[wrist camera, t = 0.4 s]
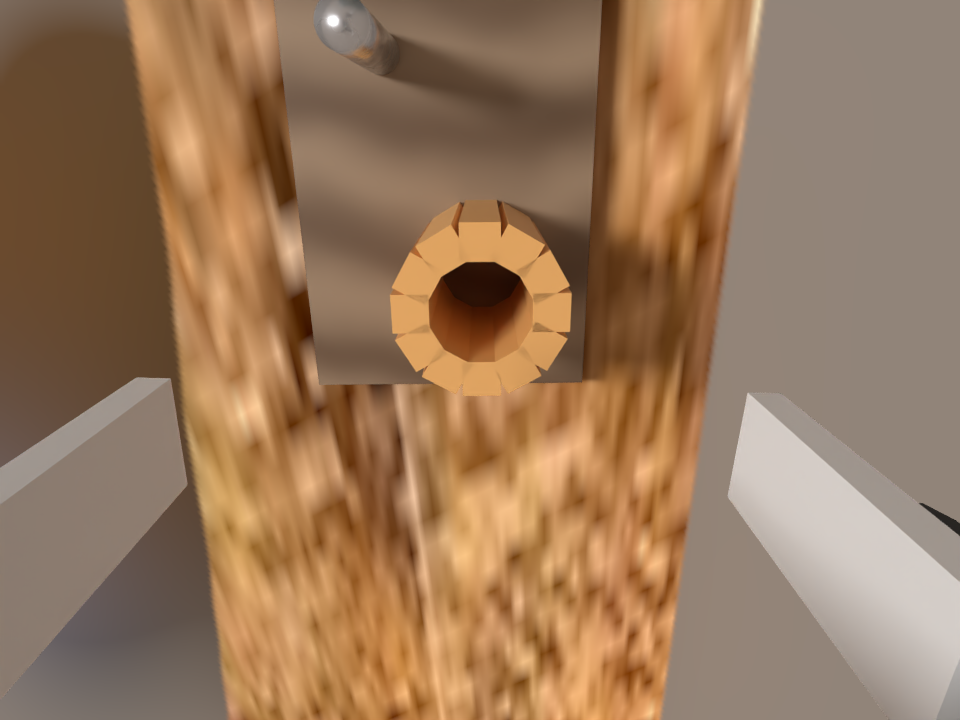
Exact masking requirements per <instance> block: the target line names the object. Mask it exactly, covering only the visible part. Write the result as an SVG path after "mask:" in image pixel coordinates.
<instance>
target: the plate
mask: <svg viewBox="0 0 960 720" xmlns="http://www.w3.org/2000/svg"><path fill="white" fill-rule="evenodd" d="M360 1H361V3H362V4H363V5H364V6H365V7H366V8H367V9H368V10H369V11H370V12H371V14H372V15H373V16H374V17H375V18H376V19H377V20H378V21H379V22H380V23H381V25H382V26H383V27H384V28H385V29H386V30H387V31H388V32H389V33H390V34H391V36H392V37H393V38H394V39H395V40H396V42H397V44H398V47H399V61H398V64H397V66H396V67H395V69H394V70H393V71H391V72H390V73H388V74H385V75H376V74H373V73H371V72H370V71H368V70H366V69H364V68H363V67H361V66H359V65H357V64H356V63H354V62H352V61H350V60H349V59H347V58H345V57H343V56H342V55H340V54H338V53H337V52H335V51H333V50H331V49H330V48H328V47H327V46H326V45H324V44H323V42H322V41H321V40H320V39H319V37H318V35H317V33H316V30H315V27H314V11H315V8H316V5H317V3H318V2H319V0H274V6H275V15H276V23H277V32H278V40H279V49H280V57H281V66H282V74H283V83H284V91H285V99H286V108H287V116H288V125H289V133H290V142H291V150H292V159H293V167H294V176H295V184H296V193H297V201H298V209H299V218H300V226H301V235H302V243H303V252H304V260H305V269H306V277H307V286H308V294H309V302H310V311H311V319H312V328H313V336H314V345H315V353H316V362H317V370H318V379H319V385H333V384H435V383H433V382H431V381H429V380H427V379H425V378H423V377H422V375H423V371H424V368H423V369H421V370H419V371H417V372H416V371H415V369H414V368H413V366H412V365H411V363H410V362H409V360H408V359H407V357H406V356H405V354H404V353H403V352H402V350H401V349H400V347H399V346H398V344H397V343H396V341H395V339H396V337H397V335H398V334H393V332H392V318H391V303H390V294H391V292H392V291H393V288H392V286H393V284H394V282H395V280H396V278H397V276H398V274H399V272H400V270H401V268H402V266H403V264H404V262H405V261H406V259H407V257H408V255H409V253H410V251H411V250H412V248H413V247H414V245H415V243H416V242H417V240H418V239H419V237H420V236H421V234H422V233H423V231H424V230H425V228H426V227H427V225H428V224H429V223H430V222H431V221H432V219H433V218H434V217H436V216H437V215H439V214H441V213H442V212H444V211H446V210H447V209H449V208H450V207H452V206H454V205H455V204H457V203H459V202H460V203H461V205H462V207H463V206H464V203H465V200H497V204H498V208H499V207H500V205H501V203H502V201H503V202H504V203H506V204H508V205H510V206H511V207H513V208H515V209H516V210H518V211H520V212H522V213H523V214H525V215H527V216H528V217H530V219H531V221H532V222H533V221H534V223H535V225H536V227H537V228H538V230H539V232H540V233H541V235H542V237H543V238H544V240H545V242H546V244H547V245H548V247H549V249H550V250H551V252H552V254H553V256H554V258H555V259H556V261H557V263H558V265H559V267H560V269H561V270H562V272H563V274H564V276H565V278H566V279H567V281H568V283H569V285H570V286H569V289H570V291H571V293H572V297H571V320H570V332H565V333H566V336H567V338H568V339H567V341H566V342H565V344H564V345H563V347H562V348H561V350H560V352H559V353H558V355H557V356H556V358H555V359H554V361H553V362H552V364H551V365H550V367H549V369H548V370H547V371H546V370H544V369H543V368H541V367H540V371H541V375H542V376H540V377H538V378H536V379H535V380H533V381H531V382H529V383H559V382H582V373H583V354H584V335H585V316H586V297H587V278H588V259H589V240H590V221H591V202H592V183H593V164H594V145H595V126H596V107H597V88H598V69H599V50H600V31H601V12H602V0H360ZM520 279H521V278H520V276H519V275H517V274H516V273H514V272H512V271H510V270H508V269H507V268H505V267H503V266H501V265H499V264H498V263H496V262H465V263H464V264H462V265H460V266H458V267H457V268H455V269H453V270H452V271H450V272H448V273H447V274H445V275H443V280H444V282H445V283H446V285H447V287H448V288H449V290H450V291H451V293H452V295H453V296H454V297H455V298H457V299H458V300H460V301H462V302H464V303H466V304H468V305H469V306H471V307H493V306H495V305H496V304H498V303H500V302H502V301H503V300H505V299H507V298H509V297H510V296H511V294H512V293H513V291H514V289H515V288H516V286H517V284H518V282H519V281H520Z"/></svg>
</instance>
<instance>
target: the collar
mask: <svg viewBox="0 0 960 720" xmlns="http://www.w3.org/2000/svg"><path fill="white" fill-rule="evenodd" d="M465 262H496V263H498V264H499V265H501V266H503V267H505V268H507V269H508V270H510V271H512V272H514V273H516V274H517V275H519V276H520V278H521V279H520V281H519V282H518V284H517V286H516V288H515V289H514V291H513V293H512V294H511V296H510V297H509V298H507V299H505V300H503V301H502V302H500V303H498V304H496V305H495V306H493V307H471V306H469V305H468V304H466V303H464V302H462V301H460V300H458V299H457V298H455V297H454V296H453V295H452V293H451V291H450V290H449V288H448V287H447V285H446V283H445V282H444V280H443V275H445V274H447V273H448V272H450V271H452V270H453V269H455V268H457V267H458V266H460V265H462V264H464V263H465ZM569 286H570V285H569V283H568V281H567V279H566V278H565V276H564V274H563V272H562V270H561V269H560V267H559V265H558V263H557V261H556V259H555V258H554V256H553V254H552V252H551V250H550V249H549V247H548V245H547V244H546V242H545V240H544V238H543V237H542V235H541V233H540V232H539V230H538V228H537V227H536V225H535V223H534V221H533V222H532V221H531V219H530V217H528V216H527V215H525V214H523V213H522V212H520V211H518V210H516V209H515V208H513V207H511V206H510V205H508V204H506V203H504V202H503V201H502V203H501V205H500V207H499V208H498V204H497V200H465V203H464V206H463V207H462V205H461V203H460V202H459V203H457V204H455V205H454V206H452V207H450V208H449V209H447V210H446V211H444V212H442V213H441V214H439V215H437V216H436V217H434V218H433V219H432V221H431V222H430V223H429V224H428V225H427V227H426V228H425V230H424V231H423V233H422V234H421V236H420V237H419V239H418V240H417V242H416V243H415V245H414V247H413V248H412V250H411V251H410V253H409V255H408V257H407V259H406V261H405V262H404V264H403V266H402V268H401V270H400V272H399V274H398V276H397V278H396V280H395V282H394V284H393V286H392V288H393V291H392V292H391V294H390V303H391V318H392V332H393V334H398V335H397V337H396V339H395V341H396V343H397V344H398V346H399V347H400V349H401V350H402V352H403V353H404V354H405V356H406V357H407V359H408V360H409V362H410V363H411V365H412V366H413V368H414V369H415V371H416V372H417V371H419V370H421V369H423V368H424V371H423V375H422V377H423V378H425V379H427V380H429V381H431V382H433V383H435V384H437V385H439V386H441V387H443V388H445V389H447V390H449V391H451V392H452V393H454V394H456V393H457V391H458V390H459V388H460V386H461V385H462V383H463V396H501V383H502V385H503V387H504V388H505V390H506V391H507V393H510V392H512V391H514V390H516V389H518V388H520V387H522V386H523V385H525V384H527V383H529V382H531V381H533V380H535V379H536V378H538V377H540V376H542V375H541V371H540V367H541V368H543V369H544V370H546V371H547V370H548V369H549V367H550V365H551V364H552V362H553V361H554V359H555V358H556V356H557V355H558V353H559V352H560V350H561V348H562V347H563V345H564V344H565V342H566V341H567V339H568V338H567V336H566V333H565V332H570V320H571V297H572V293H571V291H570V289H569Z"/></svg>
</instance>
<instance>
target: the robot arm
mask: <svg viewBox="0 0 960 720" xmlns="http://www.w3.org/2000/svg"><path fill="white" fill-rule="evenodd" d="M186 486H187V479H186V473H185V466H184V460H183V454H182V447H181V441H180V435H179V429H178V423H177V416H176V410H175V403H174V397H173V391H172V385H171V379H170V378H135V379H134V380H132V381H131V382H129V383H128V384H126V385H125V386H123V387H122V388H120V389H119V390H117V391H116V392H114V393H113V394H111V395H110V396H108V397H107V398H105V399H104V400H102V401H101V402H99V403H98V404H96V405H95V406H93V407H91V408H90V409H89V410H87V411H86V412H84V413H82V414H81V415H79V416H78V417H77V418H75V419H73V420H72V421H71V422H69V423H67V424H66V425H64V426H63V427H61V428H60V429H58V430H57V431H55V432H54V433H52V434H51V435H49V436H48V437H46V438H45V439H43V440H42V441H40V442H39V443H38V444H36V445H34V446H33V447H31V448H30V449H28V450H27V451H25V452H24V453H22V454H21V455H19V456H18V457H16V458H15V459H13V460H12V461H10V462H9V463H7V464H6V465H4V466H3V467H1V468H0V700H1V698H2V697H3V696H4V695H5V694H6V693H7V692H8V690H9V689H10V688H11V687H12V686H13V685H14V683H15V682H16V681H17V680H18V679H19V678H20V676H21V675H22V674H23V673H24V672H25V671H26V670H27V669H28V667H29V666H30V665H31V664H32V663H33V662H34V660H35V659H36V658H37V657H38V656H39V655H40V653H41V652H42V651H43V650H44V649H45V648H46V647H47V646H48V644H49V643H50V642H51V641H52V640H53V639H54V637H55V636H56V635H57V634H58V633H59V632H60V631H61V629H62V628H63V627H64V626H65V625H66V624H67V623H68V621H69V620H70V619H71V618H72V617H73V616H74V615H75V613H76V612H77V611H78V610H79V609H80V608H81V607H82V605H83V604H84V603H85V602H86V601H87V600H88V598H89V597H90V596H91V595H92V594H93V593H94V592H95V590H96V589H97V588H98V587H99V586H100V585H101V584H102V582H103V581H104V580H105V579H106V578H107V577H108V575H109V574H110V573H111V572H112V571H113V570H114V569H115V567H116V566H117V565H118V564H119V563H120V562H121V561H122V559H123V558H124V557H125V556H126V555H127V553H128V552H129V551H130V550H131V549H132V548H133V547H134V546H135V544H136V543H137V542H138V541H139V540H140V539H141V537H142V536H143V535H144V534H145V533H146V532H147V531H148V530H149V528H150V527H151V526H152V525H153V524H154V523H155V522H156V520H157V519H158V518H159V517H160V516H161V514H162V513H163V512H164V511H165V510H166V509H167V508H168V507H169V505H170V504H171V503H172V502H173V501H174V500H175V498H176V497H177V496H178V495H179V494H180V493H181V492H182V490H183V489H184V488H185V487H186ZM728 498H729V499H730V501H731V502H732V503H733V505H734V506H735V508H736V509H737V510H738V512H739V513H740V515H741V516H742V517H743V519H744V520H745V522H746V523H747V524H748V526H749V527H750V528H751V530H752V531H753V532H754V534H755V535H756V537H757V538H758V540H759V541H760V542H761V544H762V545H763V546H764V548H765V549H766V550H767V552H768V553H769V554H770V556H771V557H772V559H773V560H774V562H775V563H776V564H777V566H778V567H779V569H780V570H781V571H782V573H783V574H784V576H785V577H786V578H787V580H788V581H789V582H790V584H791V585H792V587H793V588H794V589H795V591H796V592H797V594H798V595H799V596H800V598H801V599H802V600H803V602H804V603H805V605H806V606H807V607H808V609H809V610H810V611H811V613H812V614H813V616H814V617H815V618H816V620H817V621H818V622H819V624H820V625H821V627H822V628H823V630H824V631H825V632H826V634H827V635H828V636H829V638H830V639H831V641H832V642H833V643H834V645H835V646H836V648H837V649H838V650H839V652H840V653H841V654H842V656H843V657H844V659H845V660H846V661H847V663H848V664H849V666H850V667H851V668H852V670H853V671H854V672H855V674H856V675H857V677H858V678H859V679H860V681H861V682H862V683H863V685H864V686H865V688H866V689H867V690H868V692H869V693H870V695H871V696H872V697H873V699H874V700H875V701H876V703H877V704H878V705H879V707H880V708H881V710H882V711H883V713H884V714H885V715H886V717H887V718H888V720H960V523H958V522H957V521H956V520H954V519H952V518H950V517H948V516H946V515H944V514H942V513H940V512H938V511H937V510H935V509H933V508H931V507H929V506H927V505H925V504H923V503H918V502H916V501H915V500H914V499H913V498H911V497H910V496H909V495H908V494H906V493H905V492H904V491H903V490H901V489H900V488H899V487H898V486H896V485H895V484H894V483H893V482H891V481H890V480H889V479H888V478H886V477H885V476H884V475H883V474H881V473H880V472H879V471H878V470H876V469H875V468H874V467H873V466H871V465H870V464H869V463H868V462H866V461H865V460H864V459H863V458H861V457H860V456H859V455H858V454H856V453H855V452H854V451H853V450H851V449H850V448H849V447H848V446H846V445H845V444H844V443H843V442H841V441H840V440H839V439H838V438H836V437H835V436H834V435H833V434H831V433H830V432H829V431H828V430H826V429H825V428H824V427H823V426H821V425H820V424H819V423H818V422H816V421H815V420H814V419H813V418H811V417H810V416H809V415H807V414H806V413H805V412H804V411H803V410H801V409H800V408H799V407H797V406H796V405H795V404H794V403H793V402H791V401H790V400H789V399H787V398H786V397H785V396H784V395H783V394H781V393H748V395H747V400H746V405H745V410H744V415H743V420H742V425H741V430H740V435H739V441H738V446H737V451H736V456H735V461H734V466H733V472H732V477H731V482H730V487H729V492H728Z"/></svg>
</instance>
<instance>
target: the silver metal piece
mask: <svg viewBox="0 0 960 720" xmlns="http://www.w3.org/2000/svg"><path fill="white" fill-rule="evenodd" d="M314 27H315V30H316V33H317V35H318V37H319V39H320V40H321V41H322V42H323V44H324V45H326V46H327V47H328V48H330V49H331V50H333V51H335V52H337V53H338V54H340V55H342V56H343V57H345V58H347V59H349V60H350V61H352V62H354V63H356V64H357V65H359V66H361V67H363V68H364V69H366V70H368V71H370V72H371V73H373V74H376V75H385V74H388V73H390V72H391V71H393V70H394V69H395V67H396V66H397V64H398V61H399V47H398V44H397V42H396V40H395V39H394V38H393V37H392V36H391V34H390V33H389V32H388V31H387V30H386V29H385V28H384V27H383V26H382V25H381V23H380V22H379V21H378V20H377V19H376V18H375V17H374V16H373V15H372V14H371V12H370V11H369V10H368V9H367V8H366V7H365V6H364V5H363V4H362V3H361V1H360V0H319V2H318V3H317V5H316V8H315V11H314Z"/></svg>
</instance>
